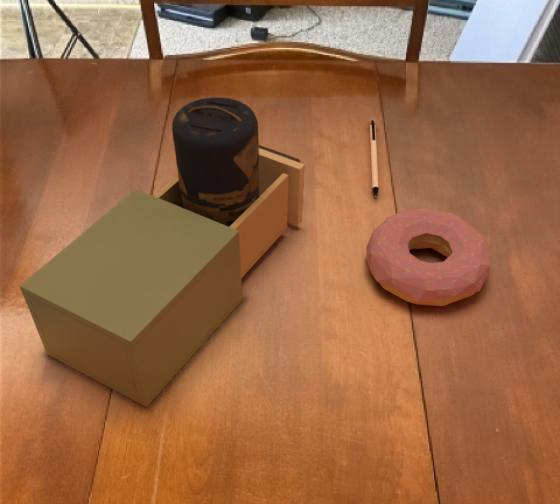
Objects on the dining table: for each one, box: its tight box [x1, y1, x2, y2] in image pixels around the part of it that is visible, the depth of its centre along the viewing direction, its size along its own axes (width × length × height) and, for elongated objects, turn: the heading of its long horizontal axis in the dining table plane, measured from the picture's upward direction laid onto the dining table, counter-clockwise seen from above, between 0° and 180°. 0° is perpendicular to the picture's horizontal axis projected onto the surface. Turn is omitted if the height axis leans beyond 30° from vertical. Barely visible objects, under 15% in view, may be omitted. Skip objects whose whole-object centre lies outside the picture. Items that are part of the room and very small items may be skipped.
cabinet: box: [19, 188, 243, 408], centre depth 76 cm, size 19×14×11 cm
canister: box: [171, 96, 260, 227], centre depth 80 cm, size 10×10×18 cm
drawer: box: [153, 144, 306, 279], centre depth 86 cm, size 22×13×9 cm, turn 149°
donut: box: [365, 208, 491, 307], centre depth 84 cm, size 16×15×5 cm
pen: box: [369, 119, 380, 198], centre depth 101 cm, size 1×19×1 cm, turn 177°
